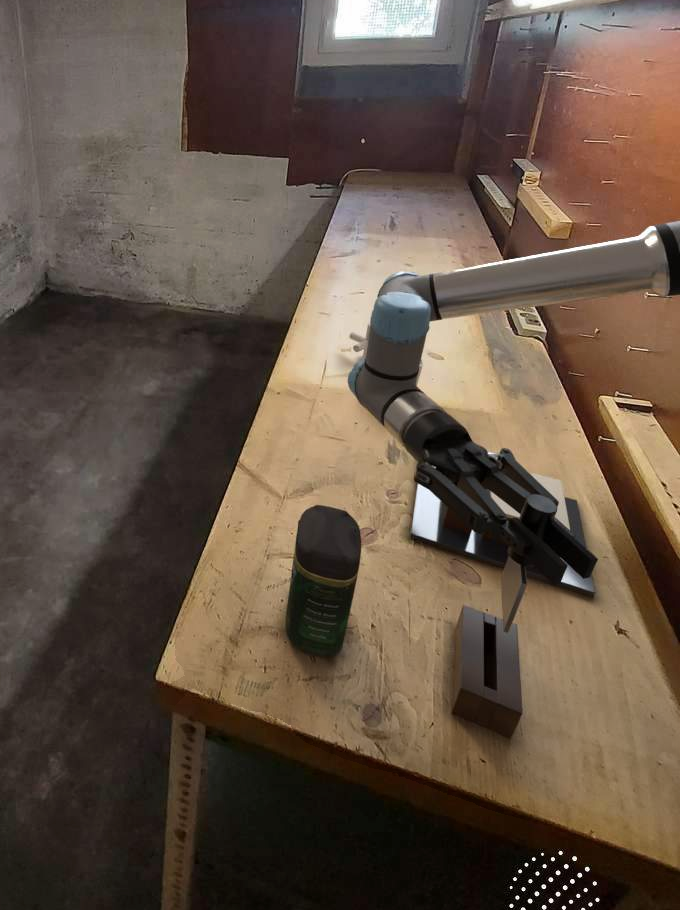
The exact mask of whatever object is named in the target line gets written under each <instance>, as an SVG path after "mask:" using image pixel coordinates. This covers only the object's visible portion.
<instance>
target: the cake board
mask: <svg viewBox="0 0 680 910" xmlns="http://www.w3.org/2000/svg"><path fill="white" fill-rule="evenodd" d="M414 497H415V498H414V504H413V511H412V512H413V513H412V517H411V525H410V532H409V538H410V539H412V540H415V541H418V542H421V543H424V544H427V545H431V546H433V547H436V548H439V549H443V550H446V551H449V552H452V553H454V554H458V555H461V556H464V557H467V558H470V559H474V560H476V561H479V562H482V563H486V564H489V565H492V566H495V567H498V568H500V569H504V568H505V565H506V562H507V559H508V556H509V555H508V548H509V546H508V545H504V544H501V543H498V542H495V541H491V540H488V539H485V538H482V534H478V533H476V532H474V531H473V530H472V532H471V534H469V533H465V532H462V531H459V530H456V529H452V528H449V527H446V526H443V516H444V503H443V502H442V501H441V500H439V499H438V498H437V497H436V496H435V495H434V494H433V493H432V492H431V491H430V490H428V489H427V488H425V487H423V486H421V485H420V484H418V483H416V490H415V496H414ZM564 498H565V504H566V509H567V515H568V520H569V526H570V531H572V532H573V534H574V536H575V537H574V538H575V539H576V540H577V541H578V542H580V543H581V544H582V545H583V546H584V547H585V548H586V549H587V544H586V538H585V533H584V529H583V524H582V519H581V513H580V509H579V504H578V500H577V499H575V498H571V497H566V496H564ZM587 550H588V549H587ZM560 558H561V557H560ZM561 559H562V558H561ZM562 560H563V559H562ZM563 561H564V560H563ZM564 562H565V561H564ZM565 563H566V562H565ZM566 564H567V563H566ZM567 565H568V564H567ZM525 568H526V577H529V578H532V579H534V580H537V581H541V582H545V583H548V584H551V585H553V584H552V583H551V582H550V581H549V580H548V579H547V578H546V577H545V576H544V575H543V574H542V573H541V572H540V571H539V570H538V569H537V568H536V567H535V566H531V567H527V566H525ZM556 586H557V587H560V588H563V589H566V590H569V591H572V592H574V593H578V594H582V595H585V596H588V597H591V598H594V597H595V595H596V593H597V592H596V588H595V583H594V578H593V573H592V574H591V576H590V578H585V579H583V578H582V577H581V576H580V575H579V574H578V573H577V572H575V571H574V570H573V569H572V568H571V567H570V566H569V565H568V566H567V569H566V571H565V573H564V576H563V578H562V580H561V583H560V584H558V585H556Z"/></svg>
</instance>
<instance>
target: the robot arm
mask: <svg viewBox="0 0 680 910" xmlns="http://www.w3.org/2000/svg"><path fill="white" fill-rule="evenodd" d="M644 292H645V293H646V292H650V293H652V294H654V295H656V296H658V297H660V298H665V297H674V296H680V220H676V221H672V222H671V221H670V222H666V223H661V224H655V225H650V226H648V227H646V228H645V229H643V231H642V232H641V233H640V234H639V235H638V236H637V235H636V236H632V237H626V238H621V239H615V240H610V241H605V242H600V243H599V242H598V243H593V244H589V245H583V246H577V247H572V248H566V249H560V250H556V251H550V252H544V253H540V254H539V253H538V254H533V255H528V256H522V257H517V258H512V259H507V260H501V261H495V262H489V263H485V264H480V265H474V266H468V267H463V268H458V269H452V270H446V271H442V272H435V273H429V274H423V275H420V274H418V273H416V272H413V271H408V270H401V271H397V272H395V273H392V274H391V275H389V276H387V278H386V279H385V280H384V281H383V283H382V285H381V287H380V288H379V289H378V292H377V297H376V299H375V301H374V304H373V308H372V311H371V316H370V320H369V321H370V322H369V323H370V331H369V337H368V345H367V353H366V358H363V357H362V358H363V359H362V358H361V359H360V360H358V361H357V362H355V364H354V365H353V368H352V369H351V370H350V371H349V373H348V376H347V386H348V389H349V391H350V392H351V393H352V394H353V396H354V397H355V398H356V400H357V401H358V403H359V404H360V405H361V407H363V408H364V409H366V410H367V412H368V413H370V414H371V415H372V416H373V418H375V420H377V421H378V423H380V425H382V427H383V428H384V429H385V430H386V431H387V432H388V433H389V434H390V435H391V436H392V437H393V438H394V439H395V440H396V441H397V442H398V443H399V444H400V445H401V446H402V447H403V448H404V449H405V450H406V452H407V453H408V454H409V455H410V456H411V457H412V458H413V459H414V460H415V461H416V462H417V463H416V467H415V470H414V476H413V481H414V482H415V483H416V484H417V483H418V484H420V485H421V486H423V487H425V488H427V489H428V490H430V491H431V492H432V493H433V494H434V495H435V496H436V497H437V498H438V499H439V500H441V501H442V502H443V503H444V504H445V505H446V506H447V507H448V508H449V509H450V510H451V511H452V512H453V513H455V514H456V515H457V516H458V517H459V518H460V519H461V520H462V521H463V522H464V523H465V524H466V525H467V526H469V527H470V528H471V529H472V530H473V531H474V532H476V533H478V534H482V533H483V532H484V531H490V532H491V533H490V536H489V537H490V538H491V539H493V540H500V539H501V538H502V539H503V540H504V541H505V542H506V543H507V544H508V545H509V546H510V547H511V548H512V549H513V551H514V552H515V553H517V554H519V555H520V556H523V555H524V556H525V557H526V558H527V559H528V560H529V561H530V562H531V563H532V564H533V565H534V566H535V567H536V568H537V569H538V570H539V571H540V572H541V573H542V574H543V575H544V576H545V577H546V578H547V579H548V580H549V581H550V582H551V583H552V584H551V585H552V586H557V585H558V584H560V583H561V580H562V578H563V576H564V573H565V571H566V569H567V566H568V565H569V566H570V567H571V568H572V569H573V570H574V571H575V572H577V573H578V574H579V575H580V576H581V577H582V578H583V579H585V578H590V576H591V574H592V575H593V571H594V569H595V567H596V565H597V562H598V561H599V558H598V557H597V556H595V554H593V553H592V552H591V551H590V550H589V549H586V548H587V547H586V548H585V547H584V546H583V545H582V544H581V543H580V542H578V541H577V540H576V539H575V538H574V537H575V536H574V534H573V532H572V531H570V530H569V529H568V528H567V527H566V526H564V524H562V523H561V522H560V521H559V520H558V519H557V518H556V517H555V518H554V520H553V523H552V525H551V528H550V530H549V533H548V535H547V538H546V541H545V543H546V544H547V545H548V546H549V547H550V548H551V549H552V550H553V551H554V552H555V553H556V554H557V555H558V556H560V557H561V558H562V559H563V560H564V561H565V562H566V563H567V564H568V565H567V564H566V563H565V562H564V561H563V560H562V559H561V558H559V557H558V556H557V555H556V554H555V553H554V552H553V551H552V550H551V549H550V548H549V547H548V546H547V545H546V544H545V543H544V542H543V541H541V540H540V539H539V538H538V537H537V536H536V535H535V534H534V533H533V532H532V531H531V530H530V529H529V528H528V527H527V526H526V525H524V524H523V523H522V522H521V521H520V520H519V519H518V518H517V517H515V518H511V519H510V522H509V521H508V520H507V518H508V517H507V515H506V514H505V513H504V512H503V510H502V509H501V508H500V507H499V506H498V504H497V503H496V502H495V501H494V500H493V498H492V497H491V496H490V495H489V494H488V493H487V491H486V489H488V490H490V491H491V492H492V493H494V494H495V495H496V496H498V497H499V498H500V499H501V500H503V501H504V502H505V503H507V504H508V505H509V506H510V507H512V508H513V509H514V510H516V511H517V512H518V513H519V514H521V511H522V509H523V506H524V503H525V500H526V497H527V496H529V495H532V494H537V495H542V496H544V497H547V498H549V499H550V500H552V501H553V502H554V503H555V504H556V506H557V507H558V504H559V501H558V500H557V499H556V498H555V497H554V496H553V495H552V494H550V493H549V492H548V491H547V490H546V489H545V488H544V487H543V486H542V485H541V484H540V483H539V482H538V481H537V480H536V479H535V478H534V477H533V476H532V475H531V474H530V473H531V472H530V473H529V471H527V469H526V468H524V466H522V465H521V464H520V463H519V462H518V461H517V460H516V458H515V456H514V454H513V452H512V450H510V449H509V448H506V447H502V448H501V449H500V450H499V452H494V451H488V449H486V448H485V447H484V446H482V445H481V444H478V443H476V442H475V441H473V439H472V437H471V435H470V433H469V431H468V430H467V428H466V427H465V426H464V425H462V423H460V422H459V421H458V420H457V419H456V418H454V417H453V416H452V415H451V414H449V413H448V412H447V411H446V410H445V408H443V407H442V406H441V405H439V404H438V403H437V402H436V401H435V400H433V399H432V398H431V397H430V396H428V394H426V393H425V392H424V391H423V390H422V389H420V388H419V387H418V385H417V386H416V380H417V376H418V372H419V365H420V361H421V359H422V357H423V352H424V349H425V344H426V339H427V335H428V333H429V330H430V328H431V327H430V322H436V321H442V320H449V319H453V318H454V319H455V318H462V317H470V316H476V315H485V314H492V313H498V312H500V313H501V312H506V311H513V310H521V309H528V308H535V307H543V306H550V305H557V304H565V303H573V302H579V301H586V300H587V301H588V300H594V299H600V298H607V297H616V296H625V295H630V294H639V293H644ZM473 515H474V516H475V518H474V517H473Z"/></svg>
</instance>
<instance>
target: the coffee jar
mask: <svg viewBox="0 0 680 910" xmlns="http://www.w3.org/2000/svg"><path fill="white" fill-rule="evenodd" d="M360 529H361V528H360V526H359V523H358V522H357V521H356V519H355V518H354V517H353V516H352V515H351V514H349V512H348V511H347V510H344V509H341V508H338V507H337V508H336V507H332V506H328V505H323V504H315V505H313V506H310V507H308V508H307V509H305V510H304V511H303V512H302V513H301V515H300V518H299V520H298V521H297V530H296V536H295V544H294V552H293V559H292V566H291V575H290V582H289V590H288V595H287V604H286V612H285V633H286V637H287V639H288V640H289V641H290V643H291V644H292V645H293V646H294V647H295V648H297V649H299V650H300V651H303V652H305V653H307V654H311V655H314V656H319V657H324V658H325V657H326V658H329V657H334V656H336V655H338V654H339V653H340V652H341V651H342V649H343V646H344V642H345V638H346V633H347V629H348V622H349V619H350V618H349V617H350V613H351V608H352V604H353V600H354V596H355V591H356V585H357V580H358V576H359V571H360V565H361V555H362V535H361V530H360Z"/></svg>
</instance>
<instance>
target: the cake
mask: <svg viewBox="0 0 680 910" xmlns="http://www.w3.org/2000/svg"><path fill="white" fill-rule="evenodd" d="M528 472H529V471H528ZM529 473H530V474H531V475H532V476H533V477H534V478H535V479H536V480H537V481H538V482H539V483H540V484H541V485H542V486H543V487H544V488H545V489H546V490H547V491H548V492H549V493H550V494H552V495H553V496H554V497H555V498H556V499H557V500H558V501H559V504H558V507H557V512H556V515H555V517H556V518H557V519H558V520H559V521H560V522H561V523H562V524H564V526H566V527H567V528H568V529H569V530H570V526H569V520H568V515H567V509H566V504H565V498H564V497H565V492H564V487H563V481H562V480H561V479H558V478H557V479H556V478H554V477H548V476H545V475H541V474H537V473H533V472H529ZM486 491H487V493H488V494H489V495H490V496H491V497H492V498H493V500H494V501H495V502H496V503H497V504H498V506H499V507H500V508H501V509H502V510H503V512H504V513H505V514H506V515H507V517H508V518H507V520H508V521H509V522H510V519H511V518H515V517H517V518H518V519H519V517H520V514H519V513H518V512H517V511H516V510H514V509H513V508H512V507H510V506H509V505H508V504H507V503H505V502H504V501H503V500H501V499H500V498H499V497H498V496H496V495H495V494H494V493H492V492H491V491H490V490H488V489H486ZM490 533H491V532H490V531H484V532H483V533H482V538H485V539H488V540H491V541H495V542H498V543H501V544H504V545H508V544H507V543H506V542H505V541H504V540H503V539H502V538H501V539H500V540H493V539H491V538H490V537H489V536H490ZM545 544H546V543H545ZM546 545H547V544H546ZM508 546H509V545H508ZM547 546H548V545H547ZM548 547H549V546H548ZM549 548H550V547H549ZM550 549H551V548H550ZM551 550H552V549H551ZM552 551H553V550H552ZM553 552H554V551H553ZM554 553H555V552H554ZM555 554H556V553H555ZM556 555H557V554H556ZM557 556H558V555H557ZM558 557H559V558H560V556H558Z"/></svg>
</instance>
